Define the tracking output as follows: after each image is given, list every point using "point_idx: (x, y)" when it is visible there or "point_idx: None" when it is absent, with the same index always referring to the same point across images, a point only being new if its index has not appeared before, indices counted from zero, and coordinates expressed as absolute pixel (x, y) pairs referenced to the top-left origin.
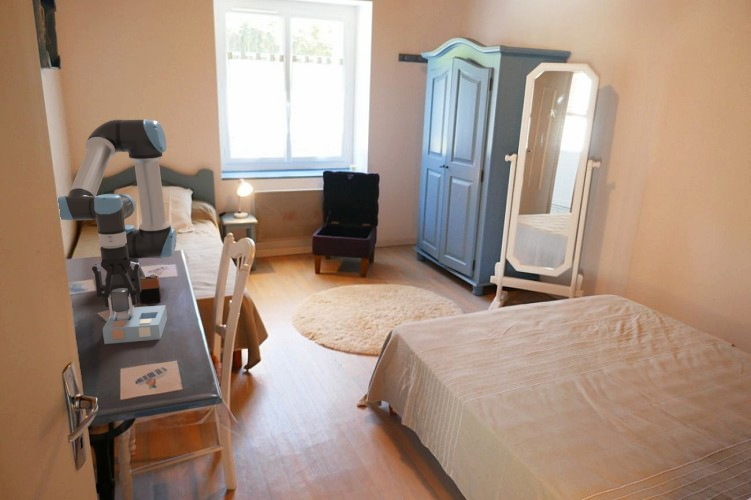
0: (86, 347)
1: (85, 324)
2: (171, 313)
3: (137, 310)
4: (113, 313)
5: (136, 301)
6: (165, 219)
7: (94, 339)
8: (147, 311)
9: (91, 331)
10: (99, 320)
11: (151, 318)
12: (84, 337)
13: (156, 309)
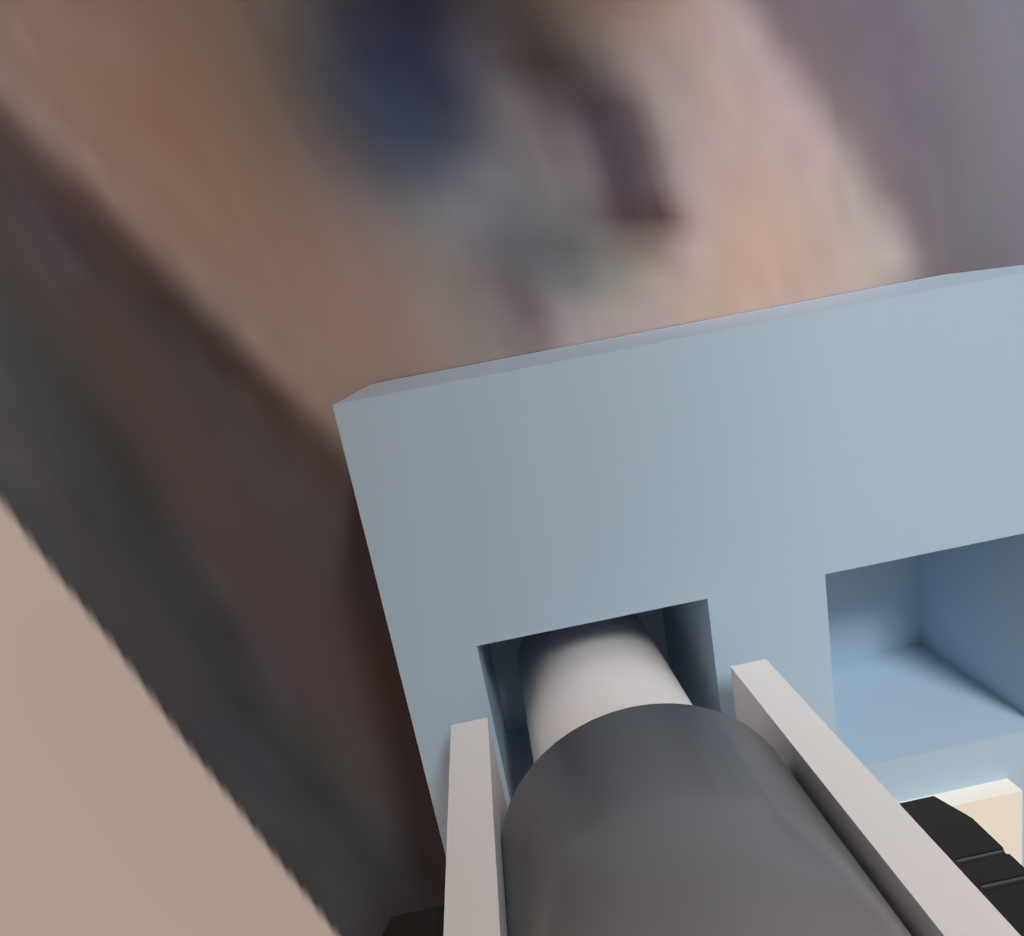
0: (351, 928)
1: (5, 430)
2: (966, 90)
3: (735, 473)
4: None
5: (990, 856)
6: None
7: (340, 786)
8: (896, 514)
9: (201, 617)
10: (113, 306)
11: (994, 742)
12: (211, 750)
13: (1014, 437)
